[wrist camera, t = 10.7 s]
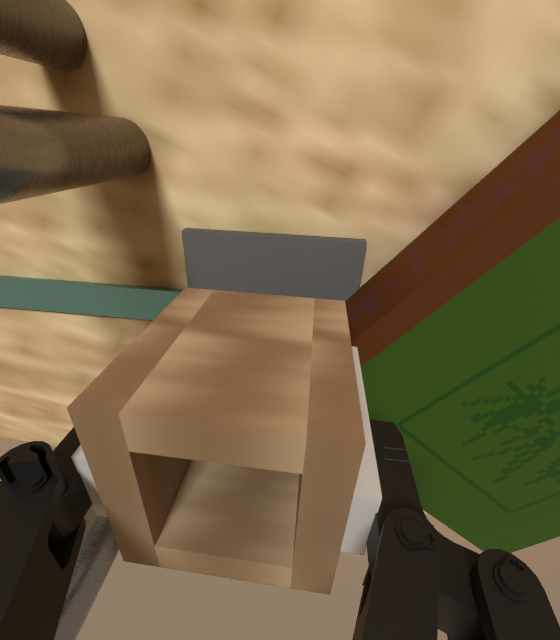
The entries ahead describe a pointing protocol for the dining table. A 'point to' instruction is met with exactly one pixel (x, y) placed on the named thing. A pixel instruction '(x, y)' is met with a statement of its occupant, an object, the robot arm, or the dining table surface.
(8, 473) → the robot arm
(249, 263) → the mat
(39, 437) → the dining table surface
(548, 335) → the hardcover book
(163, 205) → the dining table surface
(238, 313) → the hollow wooden box
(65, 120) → the metal pins
